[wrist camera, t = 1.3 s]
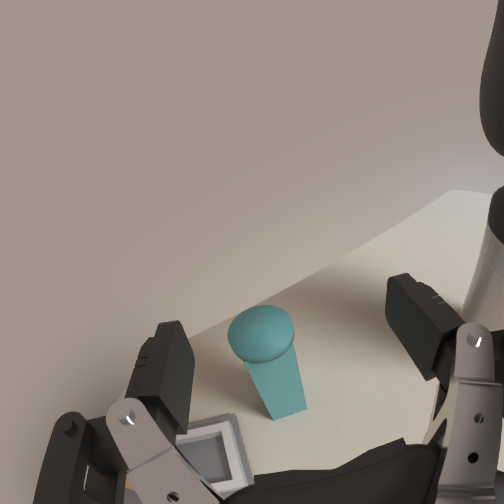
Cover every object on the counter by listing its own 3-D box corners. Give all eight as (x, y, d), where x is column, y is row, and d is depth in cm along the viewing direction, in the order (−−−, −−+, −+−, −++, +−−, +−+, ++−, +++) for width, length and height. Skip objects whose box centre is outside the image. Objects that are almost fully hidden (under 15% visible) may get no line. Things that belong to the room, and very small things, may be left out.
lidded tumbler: (298, 376, 32) (280, 297, 24) (313, 410, 28) (302, 341, 20) (258, 390, 31) (222, 317, 24) (269, 426, 27) (234, 365, 19)
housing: (236, 416, 29) (224, 401, 27) (259, 499, 20) (248, 496, 17) (122, 437, 28) (101, 424, 25) (126, 511, 19) (103, 505, 16)
